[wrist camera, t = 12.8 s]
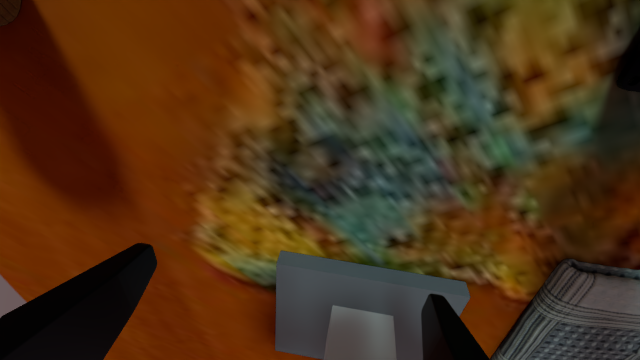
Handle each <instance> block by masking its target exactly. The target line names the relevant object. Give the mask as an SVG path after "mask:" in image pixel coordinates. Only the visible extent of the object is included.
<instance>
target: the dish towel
mask: <svg viewBox="0 0 640 360" xmlns="http://www.w3.org/2000/svg"><path fill="white" fill-rule="evenodd" d="M491 360H640V270H632V269H628V268H618V267H614V266H603V265H600V264H591V263H587V262H578V261H576V260H574V259H565V260H563V261H562V262H561V263H560V264H559V265H558V266H557V267H556V268H555V270H554V271H553V272H552V273H551V275H550V276H549V278H548V279H547V280H546V281H545V283H544V285H543V286H542V287H541V289H540V290H539V292H538V293H537V294H536V296H535V297H534V298H533V300H532V302H531V303H530V305H529V306H528V307H527V309H526V310H525V311H524V313H523V314H522V315H521V317H520V318H519V320H518V321H517V323H516V324H515V326H514V328H513V329H512V330H511V331H510V333H509V334H508V335H507V337H506V338H505V339H504V341H503V342H502V343H501V345H500V346H499V347H498V349H497V350H496V352H495V353H494V354H493V356H492V357H491Z"/></svg>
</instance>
